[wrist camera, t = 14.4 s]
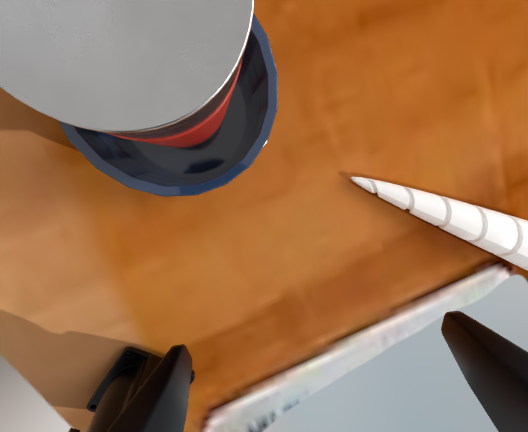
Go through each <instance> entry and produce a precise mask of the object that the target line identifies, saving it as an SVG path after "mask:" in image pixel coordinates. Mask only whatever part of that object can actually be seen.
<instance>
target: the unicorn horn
mask: <svg viewBox="0 0 528 432" xmlns="http://www.w3.org/2000/svg"><path fill="white" fill-rule="evenodd" d="M351 179H352V180H353V181H354V182H355V183H357V184H358V185H359V186H361V187H363V188H364V189H366V190H368V191H370V192H371V193H376V192H377V193H378V196H379V197H380V198H382V199H384V200H386V201H388V202H390V203H392V204H394V205H396V206H397V207H399V208H401V209H403V210H405V209H406V208H408V209H410V213H411V214H413V215H415V216H417V217H419V218H421V219H423V220H425V221H427V222H429V223H431V224H433V225H436V226H439V227H440V228H441V229H443V230H445V231H447V232H449V233H451V234H453V235H455V236H457V237H459V238H462V239H464V240H467V241H468V242H470V243H472V244H474V245H476V246H478V247H480V248H482V249H484V250H486V251H488V252H491V253H493V254H495V255H497V256H499V257H501V258H503V259H505V260H507V261H509V262H511V263H513V264H515V265H518V266H519V267H521V268H524V269H526V270H528V221H527V220H524V219H520V218H517V217H513V216H510V215H506V214H503V213H500V212H496V211H493V210H489V209H486V208H482V207H479V206H475V205H471V204H468V203H465V202H461V201H458V200H454V199H450V198H447V197H443V196H438V195H436V194H432V193H428V192H424V191H420V190H416V189H412V188H408V187H404V186H400V185H396V184H392V183H387V182H383V181H378V180H374V179H368V178H362V177H351Z"/></svg>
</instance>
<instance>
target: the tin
mask: <svg viewBox="0 0 528 432" xmlns="http://www.w3.org/2000/svg"><path fill="white" fill-rule="evenodd" d="M254 5H255V0H0V88H2V89H3V90H5V91H6V92H7V93H9V94H10V95H12V96H13V97H14V98H16V99H17V100H19V101H21V102H23V103H24V104H26V105H28V106H29V107H31V108H33V109H35V110H36V111H38V112H40V113H43V114H45V115H47V116H49V117H52V118H54V119H56V120H58V121H61V122H64V123H67V124H71V125H74V126H77V127H80V128H84V129H89V130H94V131H99V132H104V133H107V134H111V135H114V136H117V137H120V138H125V139H130V140H135V141H140V142H145V143H151V144H156V145H162V146H167V147H174V148H191V147H196V146H199V145H201V144H203V143H205V142H206V141H208V140H209V139H210V138H211V137H212V136H213V135H214V134H215V133H216V132H217V130H218V129H219V127H220V124H221V123H222V121H223V118H224V116H225V113H226V110H227V107H228V104H229V102H230V99H231V96H232V93H233V90H234V87H235V84H236V82H237V78H238V75H239V71H240V68H241V62H242V58H243V55H244V52H245V49H246V45H247V42H248V38H249V35H250V31H251V27H252V21H253V14H254Z"/></svg>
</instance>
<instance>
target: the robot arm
mask: <svg viewBox="0 0 528 432" xmlns="http://www.w3.org/2000/svg"><path fill="white" fill-rule="evenodd" d="M441 330H442V334H443V336H444V338H445V340H446V342H447V344H448V346H449V348H450V350H451V352H452V354H453V355H454V358H455V360H456V362H457V363H458V365H459V367H460V369H461V371H462V373H463V375H464V377H465V379H466V380H467V382H468V384H469V386H470V387H471V389H472V390H473V392H474V394H475V395H476V397H477V398H478V400H479V401H480V403H481V405H482V406H483V408H484V409H485V411H486V412H487V414H488V416H489V417H490V419H491V420H492V422H493V423H494V425H495V426H496V428H497V430H498V431H499V432H528V352H527V351H525V350H523V349H522V348H520V347H519V346H517V345H515V344H514V343H512V342H510V341H509V340H507V339H505V338H504V337H502V336H500V335H499V334H497V333H495V332H494V331H492V330H491V329H489V328H487V327H486V326H484V325H482V324H481V323H479V322H477V321H476V320H474V319H472V318H471V317H469V316H467V315H466V314H464V313H462V312H460V311H453V312H447V313H446V314H445V316H444V319H443V323H442V328H441ZM128 353H131V354H128ZM194 378H195V372H194V371H193V370H192V358H191V356H190V354H189V352H188V350H187V347H186V346H185V345H184V344H182V345H175V346H173V347H171V349H170V350H169V351H168V353H167V354H166V355H165V356H164V358H160V357H158V356H155V355H153V354H150V353H148V352H145V351H142V350H140V349H137V348H135V347H131V346H130V347H127V348H125V349H124V351H123V352H122V354H121V355H120V357H119V358H118V359H117V361H116V362H115V364H114V365H113V367H112V368H111V370H110V371H109V373H108V374H107V376H106V377H105V378H104V380H103V381H102V383H101V384H100V386H99V387H98V389H97V390H96V392H95V393H94V395H93V396H92V398H91V399H90V401H89V403H88V405H87V409H88V410H89V411H92V412H95V414H94V416H93V418H92V420H91V422H90V425H89V427H88V429H87V431H86V432H183V430H184V425H185V420H186V415H187V407H188V398H189V389H190V384H191V383H192V382H193V380H194ZM95 404H96V405H95ZM68 432H80V430H77V429H73V428H71V429H70V430H69V431H68Z"/></svg>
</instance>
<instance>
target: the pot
mask: <svg viewBox="0 0 528 432" xmlns="http://www.w3.org/2000/svg"><path fill="white" fill-rule="evenodd" d="M277 108H278V74H277V69H276V65H275V61H274V58H273V54H272V50H271V46H270V43H269V39H268V38H267V35H266V33H265V31H264V30H263V28H262V26H261V25H260V23H259V21H258V19H257V18H256V16H255V14H253V21H252V27H251V31H250V35H249V38H248V42H247V45H246V49H245V52H244V55H243V58H242V62H241V68H240V71H239V75H238V78H237V82H236V84H235V87H234V90H233V93H232V96H231V99H230V102H229V104H228V107H227V110H226V113H225V116H224V118H223V121H222V123H221V124H220V127H219V129H218V130H217V132H216V133H215V134H214V135H213V136H212V137H211V138H210V139H209V140H208V141H206V142H205V143H203V144H201V145H199V146H196V147H191V148H174V147H167V146H162V145H156V144H151V143H145V142H140V141H135V140H130V139H125V138H120V137H117V136H114V135H111V134H107V133H104V132H99V131H94V130H89V129H84V128H80V127H77V126H74V125H71V124H67V123H64V122H61V121H58V122H59V123H60V125H61V127H62V129H63V131H64V133H65V135H66V137H67V138H68V140H69V141H70V142H71V143H72V144H73V145H74V146H75V147H76V148H77V149H78V150H79V151H80V152H81V153H82V154H83V155H84V156H85V157H86V158H87V159H88V161H89V162H90V163H91V164H92V165H93V166H94V167H96V168H97V169H98V170H100V171H102V172H103V173H105V174H107V175H108V176H110V177H112V178H113V179H115V180H117V181H118V182H120V183H122V184H124V185H125V186H127V187H129V188H132V189H136V190H140V191H144V192H148V193H152V194H155V195H159V196H193V195H199V194H202V193H204V192H207V191H210V190H213V189H216V188H219V187H221V186H224V185H225V184H228V183H229V182H230V181H232V180H233V179H234V178H236V177H237V176H238V175H239V174H241V173H242V172H243V171H245V170H246V169H247V168H249V167H250V165H251V164H252V163H253V162H254V160H255V159H256V157H257V156H258V154H259V153H260V151H261V150H262V148H263V147H264V145H265V144H266V143H267V141H268V139H269V135H270V132H271V129H272V126H273V122H274V119H275V116H276V112H277Z"/></svg>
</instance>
